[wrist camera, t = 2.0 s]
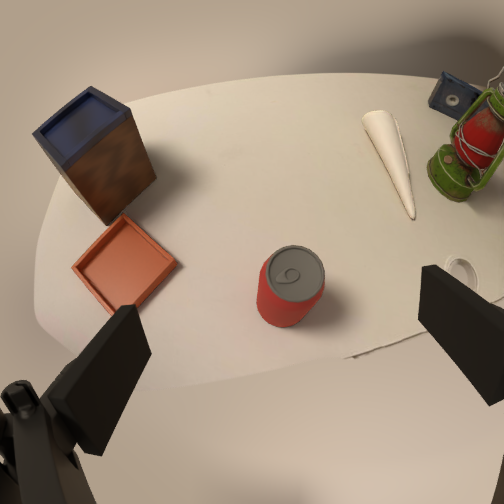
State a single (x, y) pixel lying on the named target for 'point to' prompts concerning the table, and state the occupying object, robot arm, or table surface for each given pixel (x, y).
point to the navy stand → (97, 152)
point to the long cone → (391, 153)
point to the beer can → (289, 285)
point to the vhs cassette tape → (454, 97)
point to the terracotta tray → (123, 265)
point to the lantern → (471, 148)
